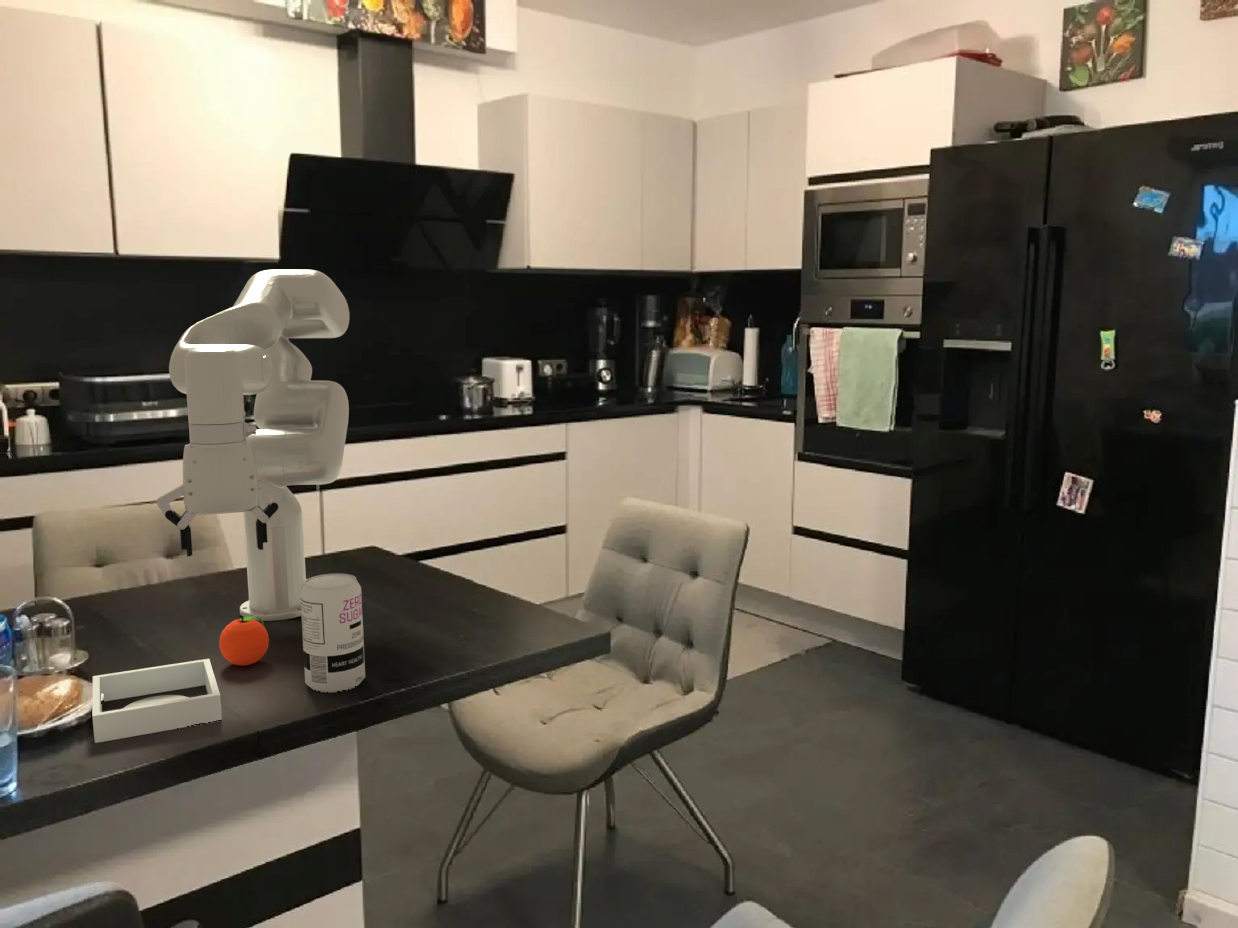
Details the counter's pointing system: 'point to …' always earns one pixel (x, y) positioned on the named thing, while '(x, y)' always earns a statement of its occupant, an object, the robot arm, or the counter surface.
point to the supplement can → (332, 632)
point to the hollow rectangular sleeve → (154, 700)
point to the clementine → (244, 641)
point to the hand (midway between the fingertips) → (225, 550)
